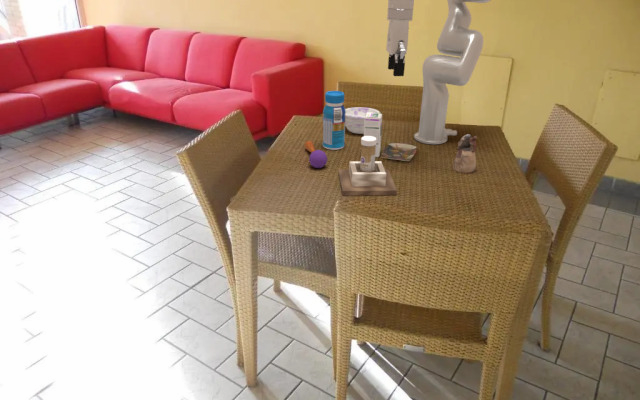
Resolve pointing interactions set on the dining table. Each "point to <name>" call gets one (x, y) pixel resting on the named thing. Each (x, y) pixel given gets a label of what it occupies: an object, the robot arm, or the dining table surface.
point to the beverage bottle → (334, 121)
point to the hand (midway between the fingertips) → (395, 72)
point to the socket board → (366, 180)
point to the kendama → (316, 155)
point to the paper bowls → (357, 118)
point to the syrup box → (374, 129)
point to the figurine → (465, 155)
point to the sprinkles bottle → (368, 154)
